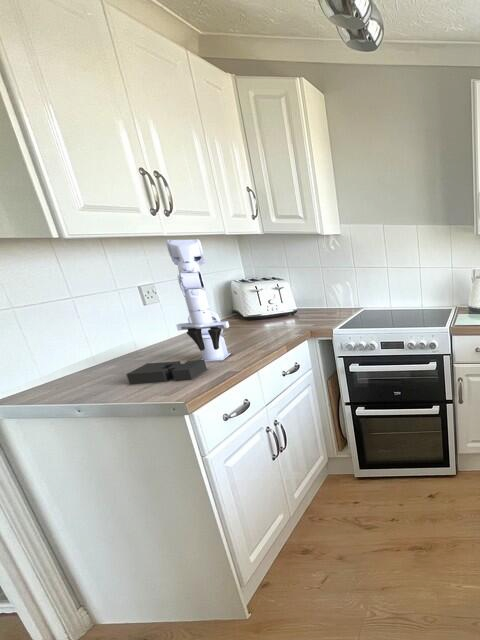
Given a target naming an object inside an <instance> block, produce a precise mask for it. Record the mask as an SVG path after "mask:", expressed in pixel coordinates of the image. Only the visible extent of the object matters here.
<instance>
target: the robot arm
mask: <svg viewBox="0 0 480 640" xmlns="http://www.w3.org/2000/svg"><path fill="white" fill-rule="evenodd" d="M165 244H166V247H167V251H168V255H169V256H170V258H171V261H172V262H173V265H175V266H177V269H178V274H177V277H176V278H177V281H178V285H179V288H180V291H181V292H182V295H183V297H184V300H185V303H186V306H187V311H188V318H187V322H184V323H183V322H182V323H177V324H176V330H177V331H186V330H187V331H186V334H187V336H188V337H189V338H191V339H192V341H194V343H195V344H196V346H197V348H198V349H199V351H200V353H201V357H202V358H200V360H204V361H205V363H206V362H220V361H221V362H222V361H224V360H225V359H226V358H228V357H229V356H230V355H231V354H232V353H231V352H228V348H227V344H226V341H225V338H224V337H223V336H222V335H223V334H224V329H228V328H229V327H230V323H229V321H228V320H225V321H224V320H221V319H220V315H219V314H218V313H217V312H214V311H212V310H210V306H209V301H208V298H207V293H206V291H205V290H206V283H205V280H204V277H203V276H204V275H203V274H202V272H201V269H200V266H202V265H204V264H205V255H204V251H203V247H202V243H201V240H200V239H198V238H197V239H167V240H166V241H165Z"/></svg>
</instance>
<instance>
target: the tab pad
mask: <svg viewBox="0 0 480 640" xmlns="http://www.w3.org/2000/svg"><path fill="white" fill-rule="evenodd" d="M206 370H207V365H206V362H205V361H204V360H201V359H193V360H192V359H191V360H187V361H185V362H184V363H181V364H174V365H172V366H170V367H169V368H168V371H169V374H170V377H171V378H170V379H173V380H174V382H176V381H187V380H188V381H189V380H193V379H195V378H196V377H197V376H199V375H200V374H202V373H203V372H205V371H206Z"/></svg>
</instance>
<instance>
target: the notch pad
mask: <svg viewBox="0 0 480 640" xmlns="http://www.w3.org/2000/svg"><path fill="white" fill-rule="evenodd" d="M174 364H182V363H181V361H180V360H177V361H163V362H161V361H160V362H148V363H145V364H143V365H142V366H139V367H137V368H135V369H133V370H132V371H130V372H128V373H126V378H127V380H128V383H129V385H137V384H139V385H140V384H151V383H163V382H165V383H166V382H167V381H169V380H170V379H172V378H171V377H170V374H169V371H168V368H169V367H170V366H172V365H174Z"/></svg>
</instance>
